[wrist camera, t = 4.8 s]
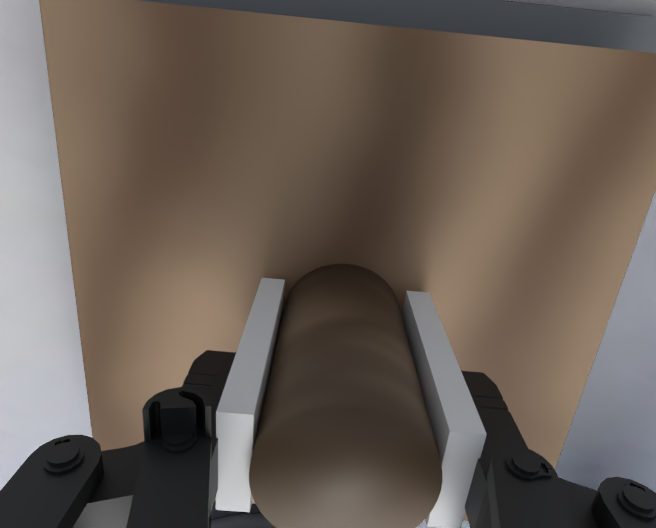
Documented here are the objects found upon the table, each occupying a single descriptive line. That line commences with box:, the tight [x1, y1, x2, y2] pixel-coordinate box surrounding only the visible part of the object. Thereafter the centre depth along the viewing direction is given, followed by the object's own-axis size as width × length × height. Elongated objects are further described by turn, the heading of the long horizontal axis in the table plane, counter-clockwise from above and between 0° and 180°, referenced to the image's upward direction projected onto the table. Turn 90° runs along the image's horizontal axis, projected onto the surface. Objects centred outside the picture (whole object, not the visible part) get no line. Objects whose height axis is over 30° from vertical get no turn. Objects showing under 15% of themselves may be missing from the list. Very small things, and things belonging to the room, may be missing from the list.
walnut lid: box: [39, 0, 656, 528], centre depth 14 cm, size 18×18×8 cm
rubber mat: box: [137, 0, 656, 53], centre depth 19 cm, size 20×20×1 cm
